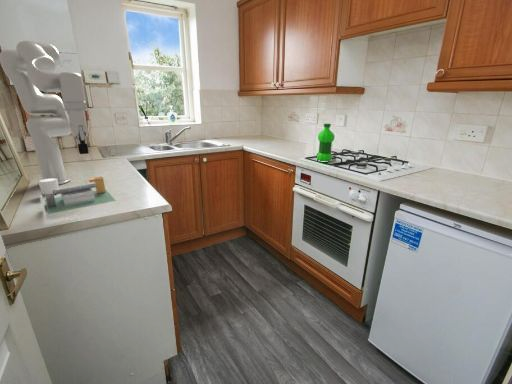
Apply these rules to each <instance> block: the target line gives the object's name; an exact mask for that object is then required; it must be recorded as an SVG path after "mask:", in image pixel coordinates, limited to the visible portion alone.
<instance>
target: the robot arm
mask: <svg viewBox="0 0 512 384" xmlns="http://www.w3.org/2000/svg"><path fill="white" fill-rule="evenodd" d="M59 52H60V51H58V49H57V47H55V46H54V45H53V44H50V43H47V42H39V41H33V40H22V41H20V42H18V43H17V44H16V48H15V49H7V50H6V49H5V50H3V51H1V52H0V66H1V68H2V70H3V72H4V73H5V75H6V77H7V78H8V79H9V80H10V82H11V83H12V85H13V87H14V89H15V92H16V94H17V96H18V99H19V101H20V103H21V106H22V108H23V110H24V111H25V113H26V114H28V115H31V116H32V115H33V117H30V118H28V119H27V120H26V124H25V125H26V129H27V132H28V133H29V135H30V139H31V141H32V143H33V146H34V152H35V155H36V159H37V163H38V167H39V171H40V174H41V180H42V179H47V178H57V180H58V186H59V185H63V184H67V183H69V182H70V181H71V177H67V175H66V170H65V166H64V161H63V158H62V153H61V150H60V146H59V144H58V143H57V142H56V141H55V140H53V139H52V138H55V137H65V136H70V135H71V136H72V137H73V138H76V140H77V149H78V153H79V154H80V155H88V154H89V153H90V151H89V147H88V143H87V138H86V137H88V134H89V133H88V125H87V120H86V115H85V112H86V111H87V112H88V105H87V101H86V94H85V87H84V82H83V81H84V80H83V77H82V75H81V74H80V73H78V72H71V71H61V72H60V71H55V70H56V67H57V66H59V63H60V60H61V56H60V53H59ZM25 72H26V73H25ZM43 92H44V93H43ZM55 93H60V94H61V97H62V98H61V97H60V96H58V95H57V94H55ZM45 115H46V116H45ZM49 115H50V116H49Z"/></svg>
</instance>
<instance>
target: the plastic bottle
mask: <svg viewBox="0 0 512 384" xmlns="http://www.w3.org/2000/svg"><path fill="white" fill-rule="evenodd" d="M331 125H332V124H331V123H323V127H324V129H323V130H321V131H320V132H319V133H318V136H317V139H318V141H319V146H318V153H317V155H316V159H317V160H318V161H319V160H320V161H329V162H330V161H331V160H332V159H333V155H332V145H333V142H334V141H335V134H334V133H333V131H331V130H330V128H331ZM320 161H319V162H320Z"/></svg>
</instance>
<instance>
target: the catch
mask: <svg viewBox="0 0 512 384" xmlns="http://www.w3.org/2000/svg"><path fill="white" fill-rule="evenodd" d="M88 182H89V183H94V184H96V185H97V187H95V191H96V192H97V193H102V192H106V191H105V189H106V187H105V186H106V185H105V180H104V177H103V176H97V177H89V178H88Z"/></svg>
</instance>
